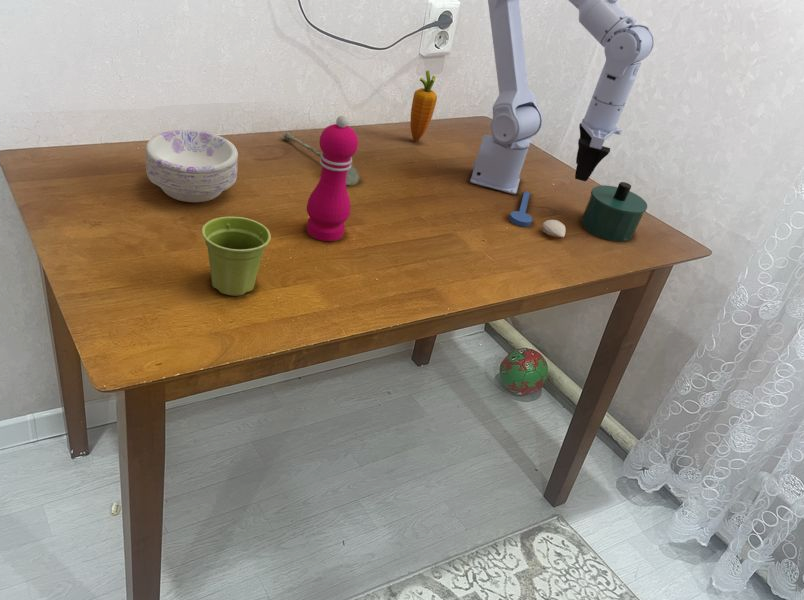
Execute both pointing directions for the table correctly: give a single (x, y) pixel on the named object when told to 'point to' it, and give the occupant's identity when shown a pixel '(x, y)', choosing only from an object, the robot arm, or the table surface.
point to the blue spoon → (521, 213)
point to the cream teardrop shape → (554, 228)
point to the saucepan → (609, 222)
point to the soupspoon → (352, 173)
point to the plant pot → (234, 252)
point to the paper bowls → (191, 164)
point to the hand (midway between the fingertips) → (580, 171)
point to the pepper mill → (332, 183)
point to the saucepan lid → (619, 198)
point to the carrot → (422, 107)
